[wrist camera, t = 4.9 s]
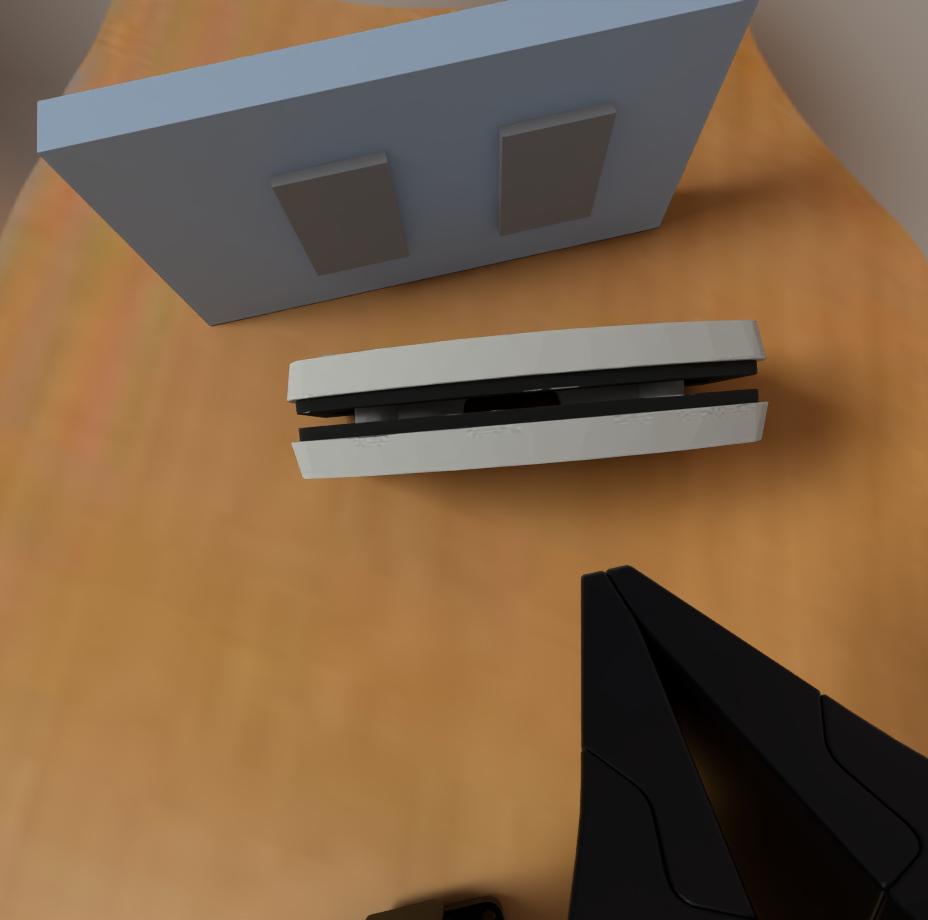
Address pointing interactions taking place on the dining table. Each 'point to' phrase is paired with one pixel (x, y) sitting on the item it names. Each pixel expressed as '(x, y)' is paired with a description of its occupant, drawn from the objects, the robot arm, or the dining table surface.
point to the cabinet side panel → (399, 147)
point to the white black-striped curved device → (522, 372)
